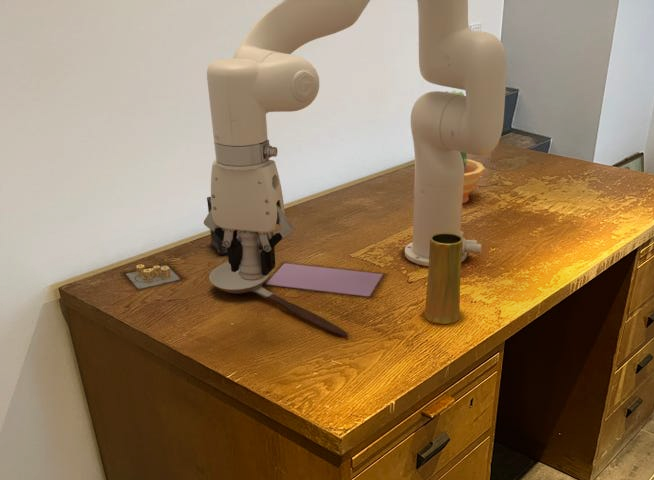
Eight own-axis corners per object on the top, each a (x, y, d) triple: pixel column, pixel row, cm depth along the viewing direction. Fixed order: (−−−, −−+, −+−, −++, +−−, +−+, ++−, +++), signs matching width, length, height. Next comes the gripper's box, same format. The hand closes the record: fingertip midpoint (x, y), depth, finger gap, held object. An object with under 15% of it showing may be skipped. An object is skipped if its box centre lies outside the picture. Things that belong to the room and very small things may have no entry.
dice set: (171, 278, 138) (170, 268, 137) (144, 284, 136) (143, 274, 135) (163, 268, 142) (161, 259, 141) (136, 274, 140) (135, 265, 139)
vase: (422, 308, 128) (425, 231, 121) (456, 307, 129) (461, 230, 121) (426, 325, 123) (430, 245, 116) (462, 324, 123) (468, 244, 116)
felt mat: (383, 274, 140) (383, 274, 140) (369, 297, 132) (369, 296, 132) (284, 264, 144) (284, 263, 144) (265, 284, 136) (265, 284, 136)
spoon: (246, 267, 141) (244, 253, 139) (371, 330, 123) (370, 315, 121) (199, 290, 134) (196, 275, 133) (324, 359, 116) (322, 344, 115)
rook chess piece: (261, 282, 112) (257, 233, 108) (234, 280, 113) (229, 231, 109) (271, 271, 116) (267, 223, 112) (244, 268, 117) (240, 220, 113)
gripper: (306, 150, 106) (311, 266, 115) (199, 142, 109) (213, 255, 119) (288, 164, 100) (295, 286, 109) (175, 155, 103) (192, 274, 113)
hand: (252, 269), depth 114 cm, fingers closed on rook chess piece, 4 cm apart
